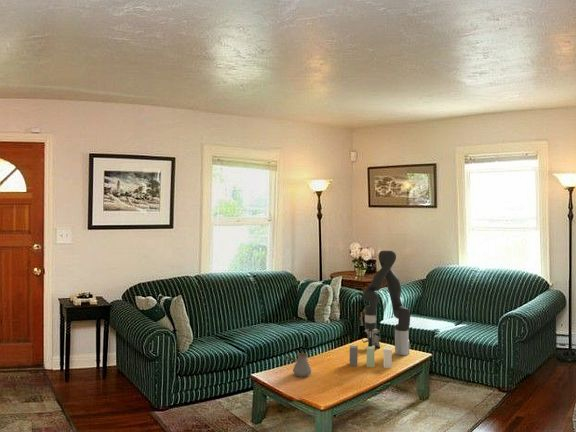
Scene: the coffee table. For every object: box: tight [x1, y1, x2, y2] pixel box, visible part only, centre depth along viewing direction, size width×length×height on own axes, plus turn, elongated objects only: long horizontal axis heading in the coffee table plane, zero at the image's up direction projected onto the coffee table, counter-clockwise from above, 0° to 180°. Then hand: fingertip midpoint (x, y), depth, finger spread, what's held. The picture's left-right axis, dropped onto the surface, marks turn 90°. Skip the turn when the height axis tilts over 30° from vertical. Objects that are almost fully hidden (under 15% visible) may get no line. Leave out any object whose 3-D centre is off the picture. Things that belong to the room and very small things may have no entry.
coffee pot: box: [285, 352, 312, 378], centre depth 309 cm, size 21×12×15 cm, turn 139°
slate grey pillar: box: [349, 345, 359, 367], centre depth 333 cm, size 5×5×12 cm
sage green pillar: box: [366, 345, 376, 368], centre depth 331 cm, size 5×5×12 cm
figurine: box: [361, 328, 381, 349], centre depth 369 cm, size 9×12×15 cm
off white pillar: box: [382, 346, 393, 369], centre depth 329 cm, size 5×5×12 cm
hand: (370, 346), depth 339 cm, fingers closed
